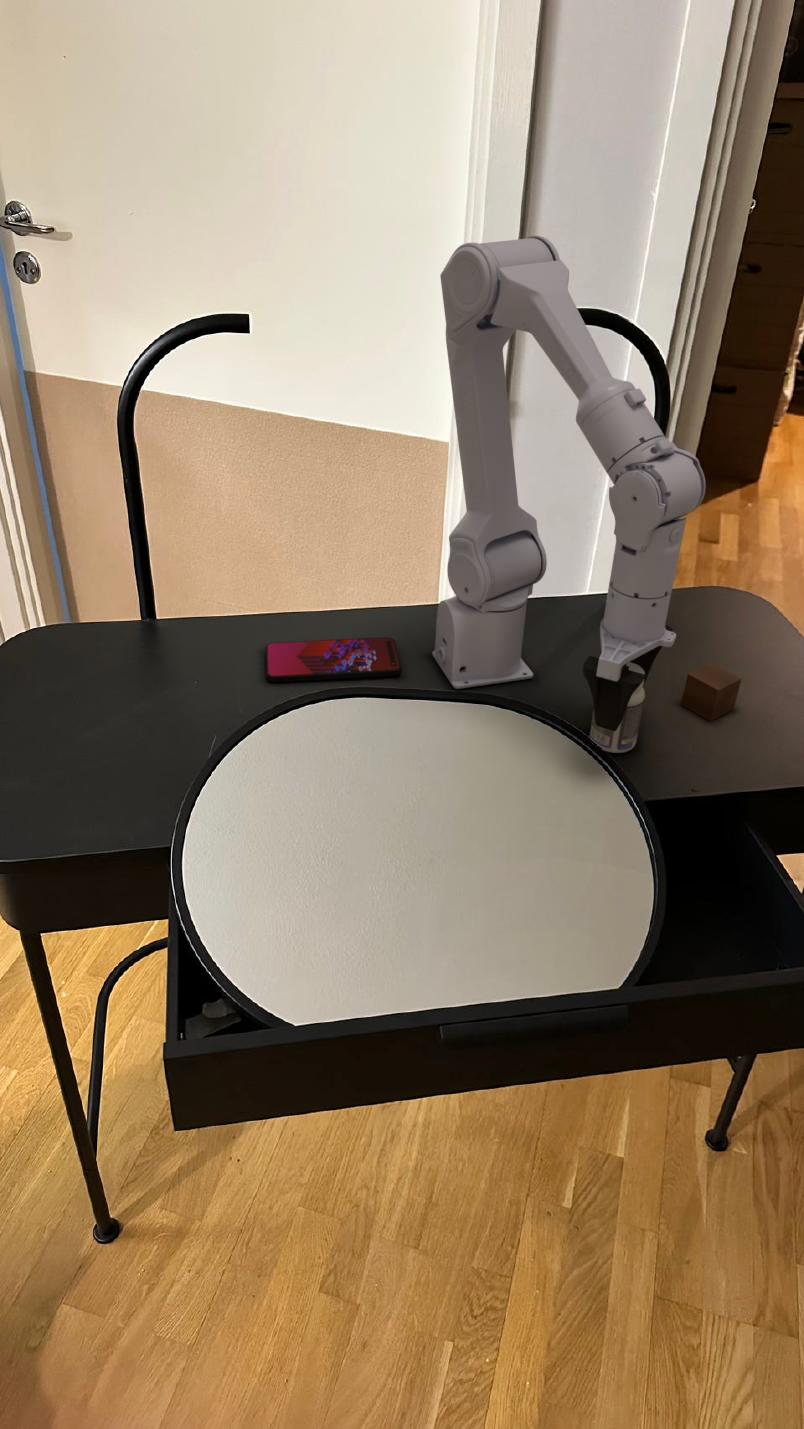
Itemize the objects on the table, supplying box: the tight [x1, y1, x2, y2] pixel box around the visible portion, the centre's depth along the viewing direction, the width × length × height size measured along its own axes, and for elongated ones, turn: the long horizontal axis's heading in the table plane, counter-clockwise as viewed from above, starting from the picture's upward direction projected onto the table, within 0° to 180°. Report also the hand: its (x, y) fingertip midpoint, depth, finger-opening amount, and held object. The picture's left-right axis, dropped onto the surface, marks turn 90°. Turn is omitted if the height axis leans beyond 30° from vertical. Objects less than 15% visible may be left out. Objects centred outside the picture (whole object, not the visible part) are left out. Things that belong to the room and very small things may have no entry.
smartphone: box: [265, 636, 402, 683], centre depth 111 cm, size 8×1×15 cm
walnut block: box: [680, 662, 742, 722], centre depth 105 cm, size 4×4×4 cm
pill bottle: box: [589, 662, 646, 754], centre depth 98 cm, size 5×5×8 cm
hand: (618, 708), depth 98 cm, fingers open, 7 cm apart
